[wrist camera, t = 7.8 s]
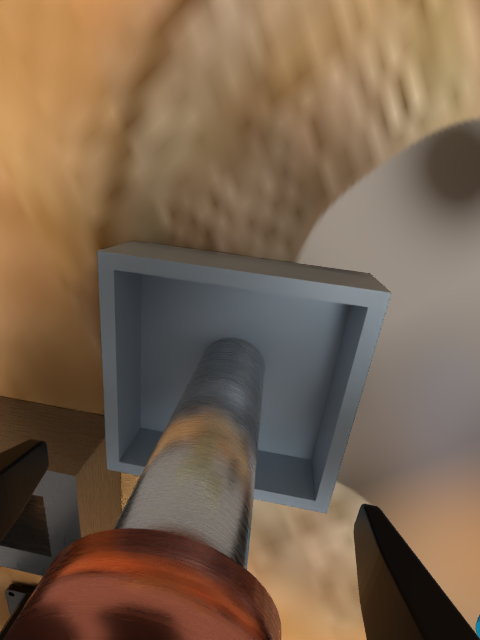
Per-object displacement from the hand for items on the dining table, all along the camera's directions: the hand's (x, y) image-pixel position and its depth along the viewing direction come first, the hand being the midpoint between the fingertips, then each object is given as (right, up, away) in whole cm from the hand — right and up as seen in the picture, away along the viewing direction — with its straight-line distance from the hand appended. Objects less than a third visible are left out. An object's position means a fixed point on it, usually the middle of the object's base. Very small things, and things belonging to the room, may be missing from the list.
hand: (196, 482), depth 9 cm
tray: (+1, +3, +7) cm, 7 cm away
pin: (+1, +2, +6) cm, 7 cm away
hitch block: (-10, -4, +11) cm, 15 cm away
